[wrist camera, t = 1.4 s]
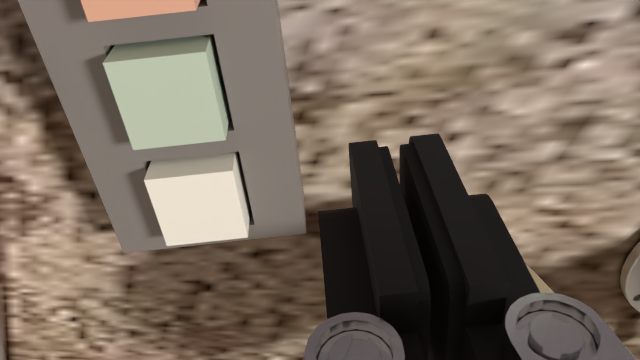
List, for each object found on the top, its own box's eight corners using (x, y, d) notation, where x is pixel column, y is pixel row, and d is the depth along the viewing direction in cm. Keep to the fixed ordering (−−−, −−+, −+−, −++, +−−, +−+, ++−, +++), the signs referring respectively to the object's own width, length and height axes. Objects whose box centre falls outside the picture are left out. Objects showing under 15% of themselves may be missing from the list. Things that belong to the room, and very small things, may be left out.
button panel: (304, 200, 37) (306, 233, 35) (136, 218, 37) (124, 253, 35) (253, -172, 25) (249, -169, 22) (-3, -143, 25) (-40, -136, 22)
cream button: (250, 211, 34) (247, 237, 32) (173, 220, 35) (167, 246, 32) (236, 147, 32) (232, 170, 30) (152, 156, 32) (143, 180, 30)
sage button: (229, 117, 30) (225, 140, 28) (143, 127, 30) (133, 150, 28) (211, 33, 28) (205, 51, 25) (115, 43, 28) (102, 62, 26)
